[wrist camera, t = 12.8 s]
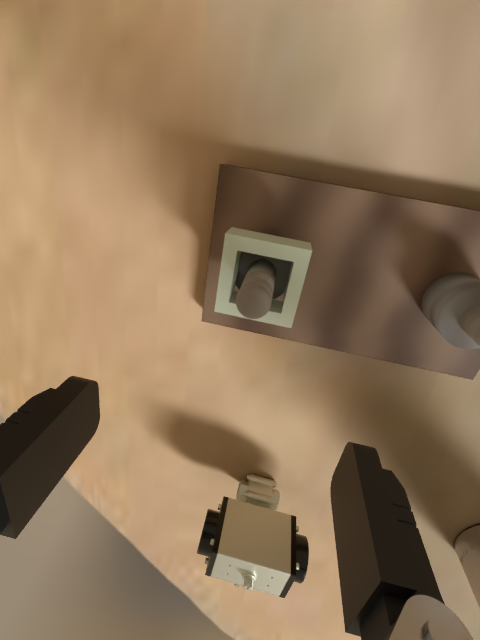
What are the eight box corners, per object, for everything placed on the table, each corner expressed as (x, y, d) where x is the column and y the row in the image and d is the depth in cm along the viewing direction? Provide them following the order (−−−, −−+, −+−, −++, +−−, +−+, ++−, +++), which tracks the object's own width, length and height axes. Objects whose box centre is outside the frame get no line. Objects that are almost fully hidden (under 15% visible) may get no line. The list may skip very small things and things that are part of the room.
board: (546, 222, 25) (738, 264, 14) (462, 367, 31) (551, 472, 21) (224, 164, 27) (178, 162, 16) (206, 312, 33) (164, 383, 22)
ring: (310, 242, 24) (312, 250, 21) (291, 314, 26) (291, 328, 24) (231, 227, 24) (225, 233, 22) (220, 299, 27) (214, 311, 24)
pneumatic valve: (220, 460, 42) (195, 559, 31) (306, 484, 42) (311, 593, 31) (213, 486, 45) (188, 587, 34) (294, 509, 44) (295, 619, 33)
